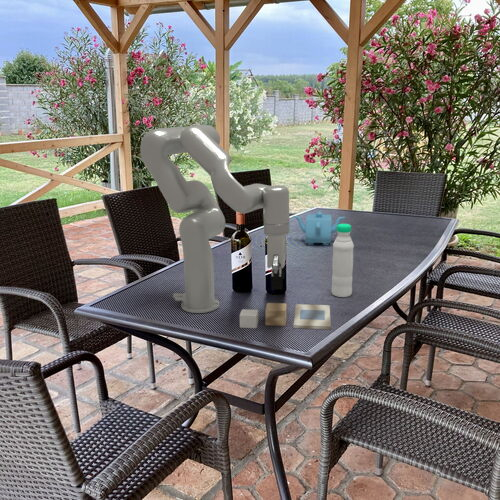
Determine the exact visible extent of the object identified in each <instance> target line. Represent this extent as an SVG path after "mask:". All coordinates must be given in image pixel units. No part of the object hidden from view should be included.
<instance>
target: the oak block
mask: <svg viewBox="0 0 500 500" xmlns="http://www.w3.org/2000/svg"><path fill="white" fill-rule="evenodd" d="M287 306H288V305H287V303H283V302H282V303H280V302H267V303H266V307H265V315H264V316H265V317H264V318H265V326H276V327H277V326H279V327H286V323H287V319H288V318H287V317H288V316H287V311H288V309H287Z"/></svg>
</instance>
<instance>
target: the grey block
mask: <svg viewBox="0 0 500 500" xmlns="http://www.w3.org/2000/svg"><path fill="white" fill-rule="evenodd" d="M258 325H259V309H244V308H243V309H241V311H240V313H239V328H241V329H242V328H244V329H245V328H246V329H257V328H258Z"/></svg>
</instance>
